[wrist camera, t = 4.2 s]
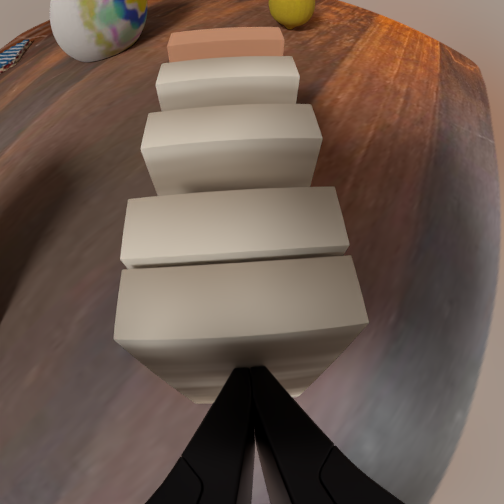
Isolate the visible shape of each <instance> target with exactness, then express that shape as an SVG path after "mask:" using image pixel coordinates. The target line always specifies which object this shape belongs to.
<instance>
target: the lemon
mask: <svg viewBox="0 0 504 504" xmlns="http://www.w3.org/2000/svg"><path fill="white" fill-rule="evenodd" d="M314 8H315V0H269V9H270V12H271V15H272V16H273V18H274V19H275V20H276V21H277V22H279V23H280V24H282V25H284V26H285V27H286V28H287V29H293V28H294V27H296V26H300V25H303V24H305V23H306V22H307V21H309V19H310V18H311V17H312V15H313V12H314Z"/></svg>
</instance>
